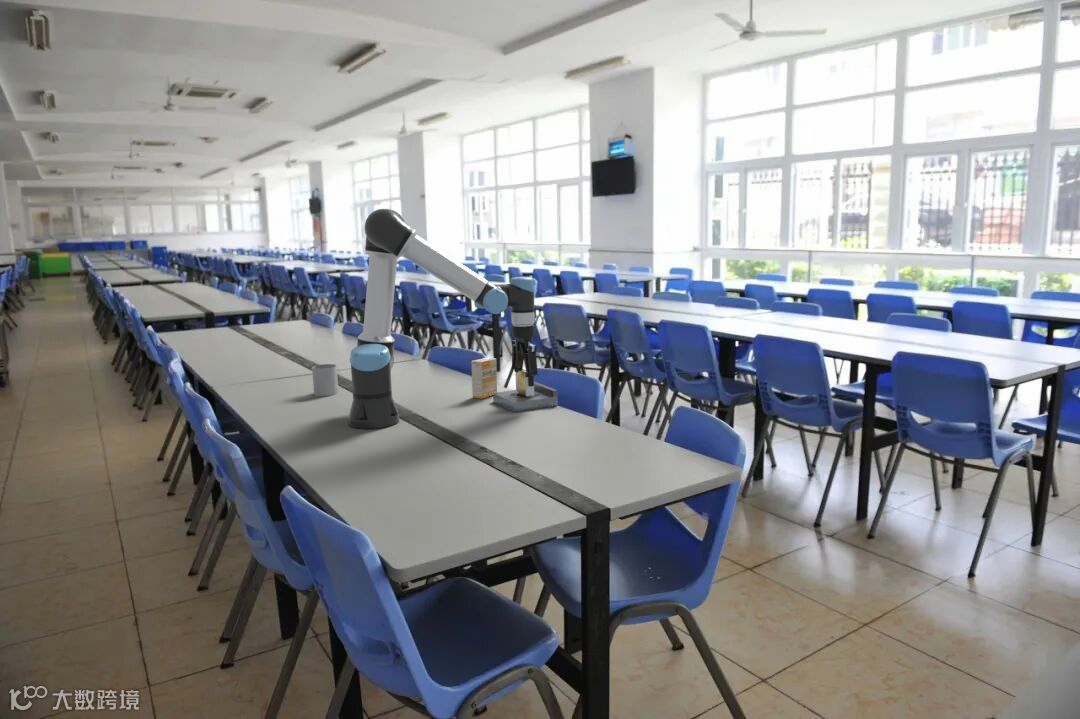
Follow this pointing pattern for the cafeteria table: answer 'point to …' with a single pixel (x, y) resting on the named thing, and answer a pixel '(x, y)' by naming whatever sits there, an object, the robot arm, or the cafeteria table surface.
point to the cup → (325, 380)
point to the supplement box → (484, 377)
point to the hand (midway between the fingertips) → (524, 393)
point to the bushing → (522, 383)
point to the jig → (527, 398)
